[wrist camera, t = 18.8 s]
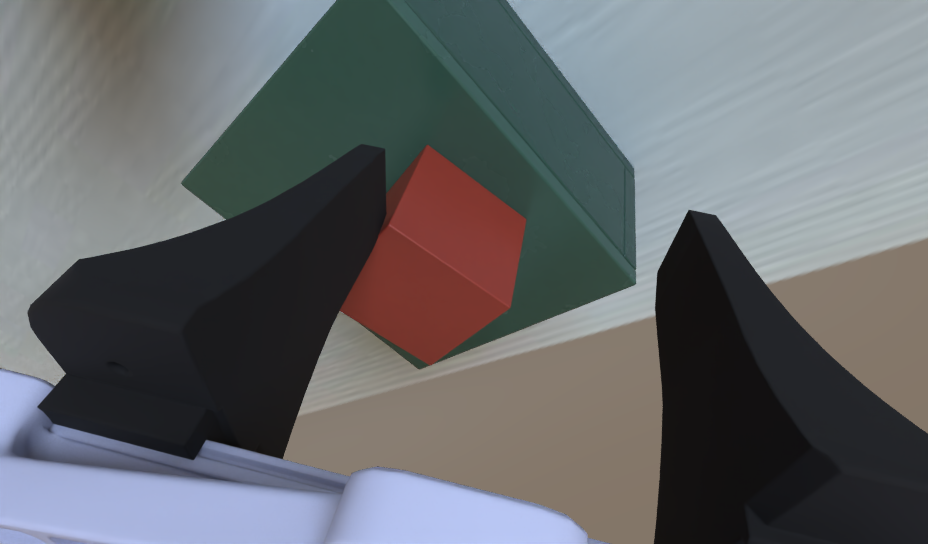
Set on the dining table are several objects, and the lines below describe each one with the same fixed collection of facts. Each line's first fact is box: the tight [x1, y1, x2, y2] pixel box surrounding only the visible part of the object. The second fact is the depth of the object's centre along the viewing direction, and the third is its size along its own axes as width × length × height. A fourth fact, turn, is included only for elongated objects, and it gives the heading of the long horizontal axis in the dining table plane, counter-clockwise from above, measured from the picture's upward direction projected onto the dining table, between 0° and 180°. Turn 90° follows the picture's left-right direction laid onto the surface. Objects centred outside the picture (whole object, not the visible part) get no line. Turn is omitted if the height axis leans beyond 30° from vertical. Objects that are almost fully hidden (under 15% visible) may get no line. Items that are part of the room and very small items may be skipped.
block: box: [340, 145, 526, 365], centre depth 17 cm, size 4×4×4 cm
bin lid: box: [181, 0, 636, 369], centre depth 19 cm, size 11×13×1 cm
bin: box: [404, 0, 636, 270], centre depth 21 cm, size 11×13×6 cm
